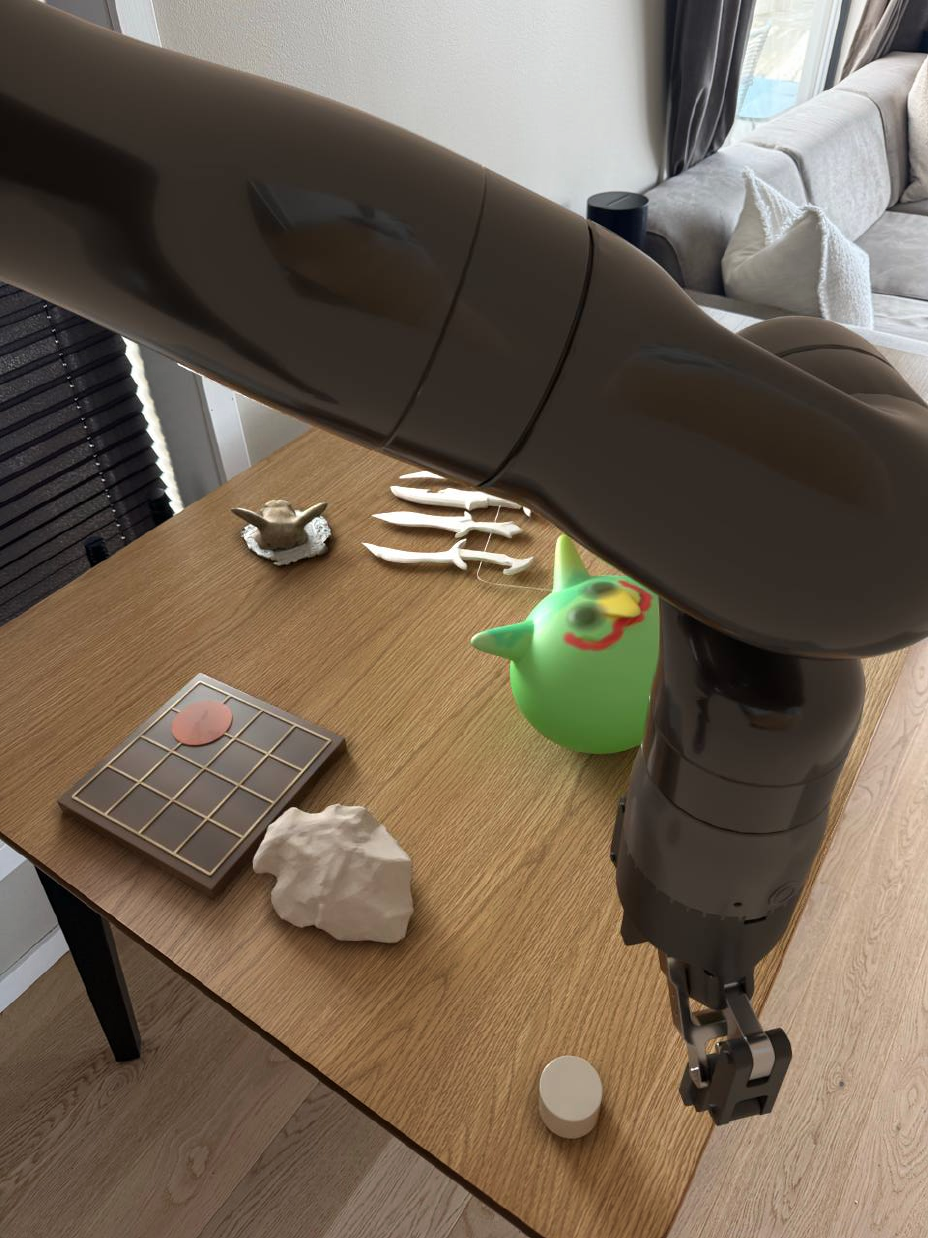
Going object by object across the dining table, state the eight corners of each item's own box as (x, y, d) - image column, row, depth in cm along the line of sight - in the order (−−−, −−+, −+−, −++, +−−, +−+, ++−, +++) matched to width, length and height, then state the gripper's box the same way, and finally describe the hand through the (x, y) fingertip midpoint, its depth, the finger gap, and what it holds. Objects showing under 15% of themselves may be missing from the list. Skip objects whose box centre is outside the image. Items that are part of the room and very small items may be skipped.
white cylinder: (584, 1151, 56) (586, 1134, 54) (528, 1118, 58) (528, 1100, 56) (608, 1093, 59) (612, 1075, 57) (554, 1063, 60) (556, 1043, 58)
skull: (338, 558, 105) (338, 515, 102) (240, 571, 102) (236, 526, 98) (318, 517, 113) (318, 475, 109) (227, 527, 109) (223, 485, 106)
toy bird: (633, 816, 75) (652, 696, 65) (466, 738, 82) (462, 620, 73) (710, 686, 86) (736, 568, 77) (557, 627, 94) (564, 512, 84)
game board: (215, 900, 70) (210, 889, 69) (61, 811, 77) (55, 800, 76) (347, 748, 82) (345, 736, 81) (202, 682, 89) (199, 671, 88)
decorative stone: (229, 882, 72) (369, 993, 66) (217, 862, 69) (363, 977, 63) (318, 784, 77) (455, 879, 71) (310, 762, 74) (453, 859, 68)
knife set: (404, 457, 120) (403, 449, 120) (664, 480, 114) (665, 472, 113) (345, 571, 102) (344, 563, 101) (652, 606, 95) (653, 598, 95)
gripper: (576, 718, 41) (561, 907, 51) (701, 1020, 30) (649, 1179, 41) (729, 690, 42) (683, 881, 52) (901, 973, 31) (800, 1140, 42)
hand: (668, 1011), depth 46 cm, fingers open, 8 cm apart
